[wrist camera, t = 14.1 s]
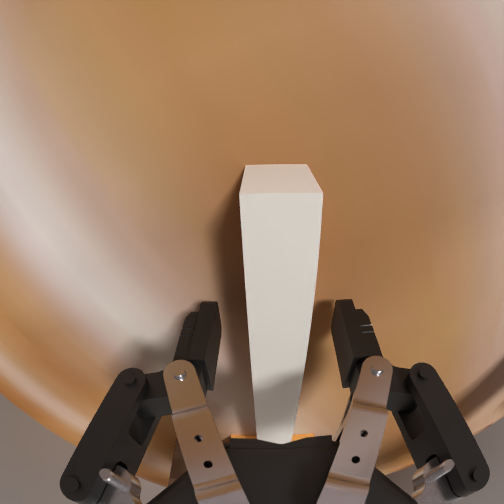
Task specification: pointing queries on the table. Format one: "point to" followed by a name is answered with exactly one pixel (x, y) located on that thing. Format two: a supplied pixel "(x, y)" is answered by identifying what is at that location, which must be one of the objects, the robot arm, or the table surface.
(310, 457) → the robot arm
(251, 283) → the long white slat
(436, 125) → the table surface
